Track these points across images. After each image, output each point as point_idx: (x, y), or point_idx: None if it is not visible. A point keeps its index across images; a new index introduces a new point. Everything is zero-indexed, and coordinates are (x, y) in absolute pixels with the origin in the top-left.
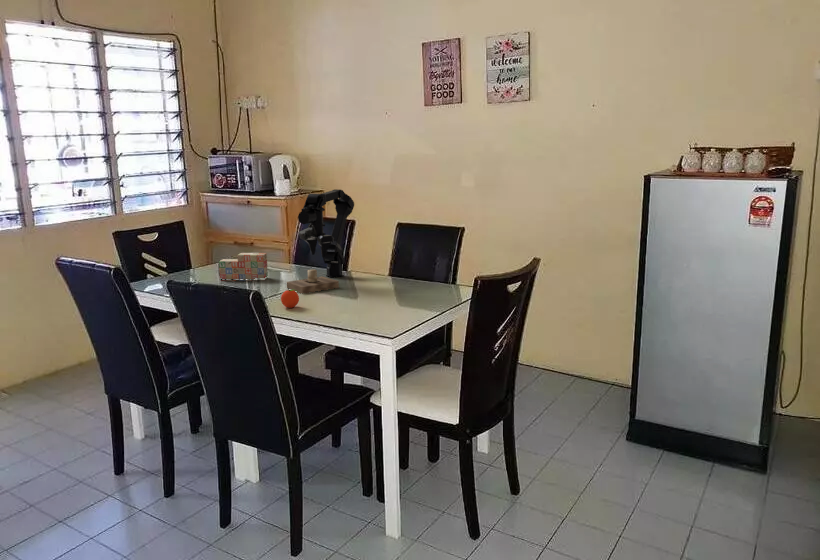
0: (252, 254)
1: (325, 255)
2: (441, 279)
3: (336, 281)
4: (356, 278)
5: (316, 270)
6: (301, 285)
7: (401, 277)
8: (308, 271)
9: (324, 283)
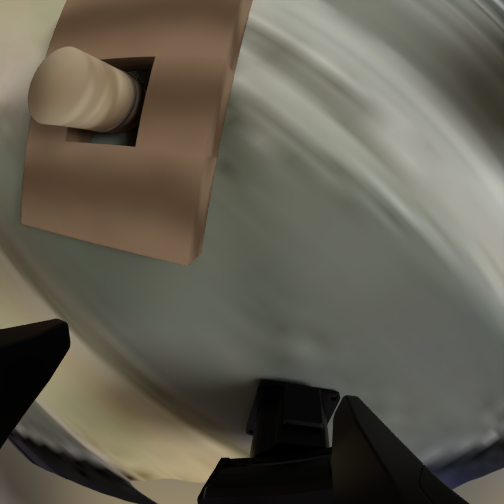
0: None
1: (302, 485)
2: (26, 452)
3: (22, 210)
4: (162, 419)
5: (30, 112)
6: (90, 5)
7: (84, 461)
8: (61, 49)
9: (29, 128)
